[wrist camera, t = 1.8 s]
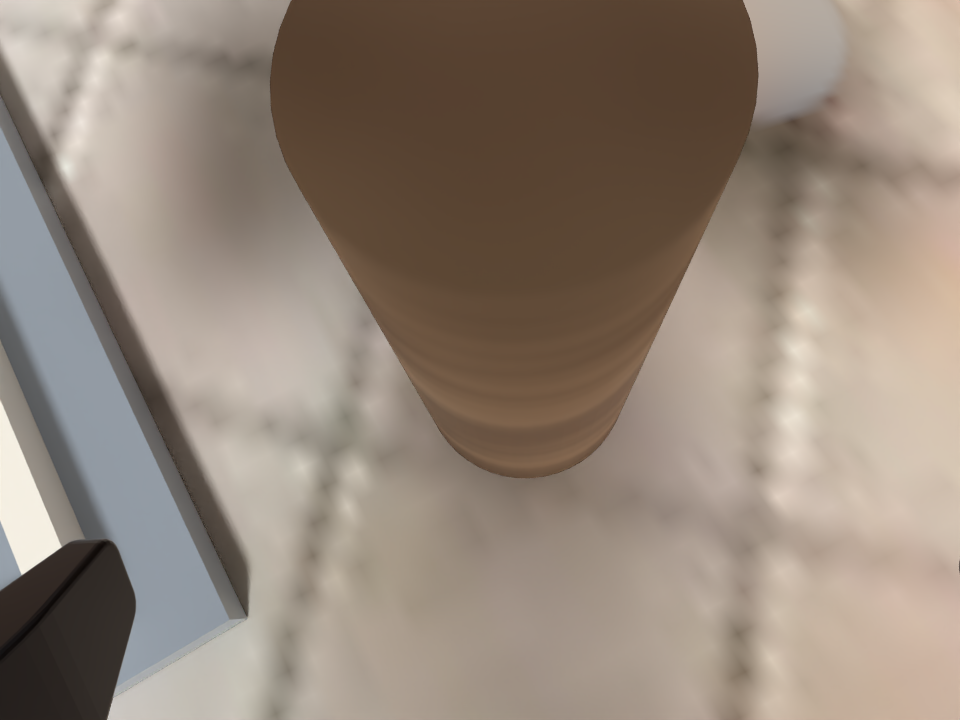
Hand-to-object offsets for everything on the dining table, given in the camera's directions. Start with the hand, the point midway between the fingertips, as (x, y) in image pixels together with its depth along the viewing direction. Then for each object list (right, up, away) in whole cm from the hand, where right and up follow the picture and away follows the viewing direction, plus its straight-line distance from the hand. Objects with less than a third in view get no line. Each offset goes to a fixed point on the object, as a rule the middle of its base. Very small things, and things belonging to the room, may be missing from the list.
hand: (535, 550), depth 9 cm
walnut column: (+1, +2, +12) cm, 12 cm away
